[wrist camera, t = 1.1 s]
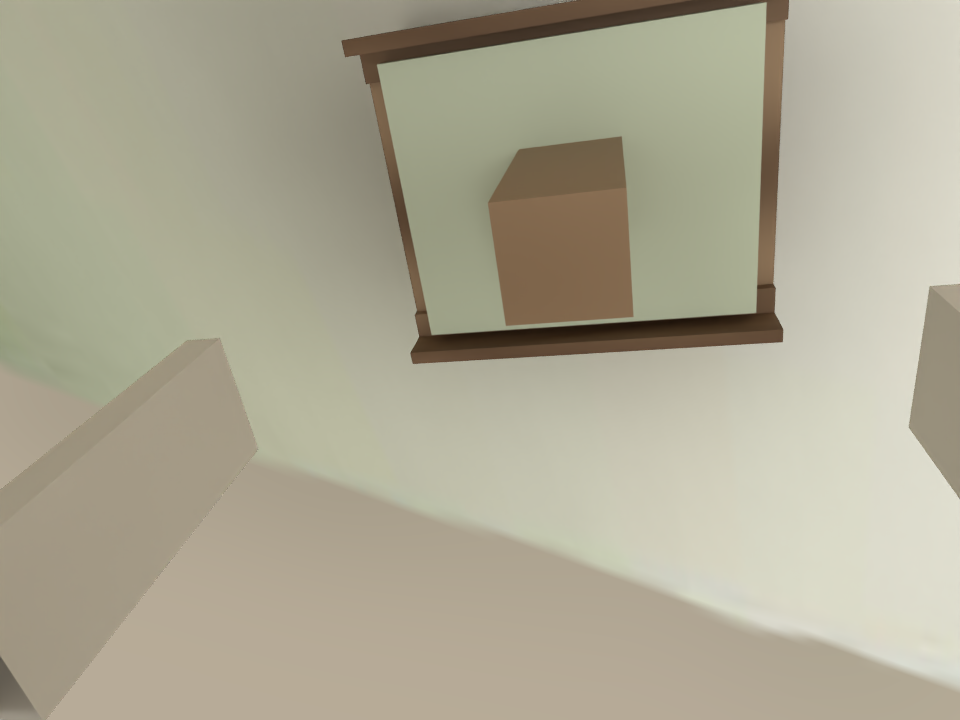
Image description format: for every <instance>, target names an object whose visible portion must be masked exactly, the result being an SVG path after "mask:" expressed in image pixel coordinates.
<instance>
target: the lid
mask: <svg viewBox="0 0 960 720" xmlns="http://www.w3.org/2000/svg"><path fill="white" fill-rule="evenodd" d="M766 6H767V2H759V3H752V4H746V5H740V6H734V7H727V8H721V9H715V10H709V11H702V12H696V13H690V14H684V15H678V16H671V17H665V18H659V19H653V20H646V21H640V22H634V23H628V24H621V25H615V26H609V27H603V28H596V29H590V30H584V31H578V32H571V33H565V34H559V35H553V36H547V37H540V38H534V39H528V40H522V41H515V42H509V43H503V44H497V45H490V46H484V47H478V48H472V49H465V50H459V51H453V52H447V53H441V54H434V55H428V56H422V57H416V58H409V59H403V60H397V61H391V62H384V63H381V64H377V68H378V73H379V77H380V82H381V87H382V92H383V97H384V102H385V107H386V112H387V117H388V122H389V127H390V132H391V137H392V142H393V147H394V152H395V156H396V161H397V166H398V171H399V176H400V181H401V186H402V191H403V196H404V201H405V206H406V211H407V216H408V221H409V226H410V231H411V236H412V240H413V245H414V250H415V255H416V260H417V265H418V270H419V275H420V280H421V285H422V290H423V295H424V300H425V305H426V310H427V315H428V319H429V324H430V329H431V334H432V335H440V334H455V333H469V332H484V331H499V330H514V329H528V328H543V327H558V326H572V325H587V324H602V323H616V322H631V321H646V320H660V319H675V318H690V317H704V316H719V315H734V314H749V313H756V303H757V274H758V244H759V214H760V184H761V155H762V125H763V95H764V65H765V36H766Z"/></svg>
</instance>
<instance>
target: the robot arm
mask: <svg viewBox="0 0 960 720" xmlns="http://www.w3.org/2000/svg"><path fill="white" fill-rule="evenodd" d="M909 428H910V430H911V431H912V433H913V434H914V435H915V437H916V438H917V440H918V441H919V442H920V444H921V445H922V447H923V448H924V449H925V451H926V452H927V454H928V455H929V456H930V458H931V459H932V461H933V462H934V463H935V465H936V466H937V468H938V469H939V470H940V472H941V473H942V475H943V476H944V477H945V479H946V480H947V482H948V483H949V484H950V486H951V487H952V489H953V490H954V492H955V493H956V494H957V496H958V497H959V499H960V284H954V285H941V286H930V288H929V295H928V302H927V308H926V315H925V322H924V329H923V335H922V342H921V349H920V355H919V362H918V369H917V375H916V382H915V389H914V395H913V402H912V409H911V415H910V422H909ZM257 450H258V446H257V443H256V440H255V437H254V435H253V432H252V429H251V426H250V423H249V420H248V417H247V415H246V412H245V409H244V406H243V403H242V400H241V397H240V395H239V392H238V389H237V386H236V383H235V380H234V377H233V375H232V372H231V369H230V366H229V363H228V360H227V357H226V355H225V352H224V349H223V346H222V343H221V340H220V338H214V339H201V340H187V341H186V342H184V343H183V344H182V345H181V346H179V347H178V348H177V349H176V350H174V351H173V352H172V353H171V354H169V355H168V356H167V357H166V358H164V359H163V360H162V361H161V362H159V363H158V364H157V365H156V366H154V367H153V368H152V369H151V370H149V371H148V372H147V373H146V374H144V375H143V376H142V377H141V378H139V379H138V380H137V381H136V382H134V383H133V384H132V385H131V386H129V387H128V388H127V389H126V390H124V391H123V392H122V393H121V394H119V395H118V396H117V397H116V398H114V399H113V400H112V401H111V402H109V403H108V404H107V405H106V406H104V407H103V408H102V409H101V410H99V411H98V412H97V413H96V414H94V415H93V416H92V417H91V418H89V419H88V420H87V421H86V422H84V423H83V424H82V425H81V426H79V427H78V428H77V429H76V430H74V431H73V432H72V433H71V434H69V435H68V436H67V437H66V438H64V439H63V440H62V441H61V442H59V443H58V444H57V445H56V446H54V447H53V448H52V449H51V450H50V451H48V452H47V453H46V454H44V455H43V456H42V457H41V458H39V459H38V460H37V461H36V462H34V463H33V464H32V465H30V466H29V467H28V468H27V469H25V470H24V471H23V472H22V473H21V474H19V475H18V476H17V477H15V478H14V479H13V480H12V481H11V482H9V483H8V484H7V485H5V486H4V487H3V488H2V489H0V719H1V720H46V719H47V718H48V717H49V715H50V714H51V713H52V712H53V710H54V709H55V708H56V706H57V705H58V704H59V703H60V701H61V700H62V699H63V698H64V696H65V695H66V694H67V692H68V691H69V690H70V689H71V687H72V686H73V685H74V684H75V682H76V681H77V680H78V678H79V677H80V676H81V675H82V673H83V672H84V671H85V669H86V668H87V667H88V666H89V664H90V663H91V662H92V661H93V659H94V658H95V657H96V655H97V654H98V653H99V652H100V650H101V649H102V648H103V647H104V645H105V644H106V643H107V641H108V640H109V639H110V638H111V636H112V635H113V634H114V633H115V631H116V630H117V629H118V627H119V626H120V625H121V623H122V622H123V621H124V620H125V619H126V617H127V616H128V614H129V613H130V612H131V611H132V610H133V608H134V607H135V606H136V604H137V603H138V602H139V601H140V599H141V598H142V597H143V596H144V594H145V593H146V592H147V590H148V589H149V588H150V587H151V585H152V584H153V583H154V582H155V580H156V579H157V578H158V576H159V575H160V574H161V573H162V571H163V570H164V569H165V568H166V566H167V565H168V564H169V563H170V561H171V560H172V559H173V557H174V556H175V555H176V553H177V552H178V551H179V550H180V548H181V547H182V546H183V544H184V543H185V542H186V541H187V539H188V538H189V537H190V536H191V534H192V533H193V532H194V531H195V529H196V528H197V527H198V526H199V524H200V523H201V522H202V520H203V519H204V518H205V517H206V515H207V514H208V513H209V511H210V510H211V509H212V508H213V506H214V505H215V504H216V503H217V501H218V500H219V499H220V498H221V496H222V495H223V494H224V492H225V491H226V490H227V489H228V487H229V486H230V485H231V484H232V482H233V481H234V479H235V478H236V477H237V476H238V475H239V473H240V472H241V471H242V470H243V468H244V467H245V466H246V464H247V463H248V462H249V461H250V459H251V458H252V457H253V456H254V454H255V453H256V452H257Z"/></svg>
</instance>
